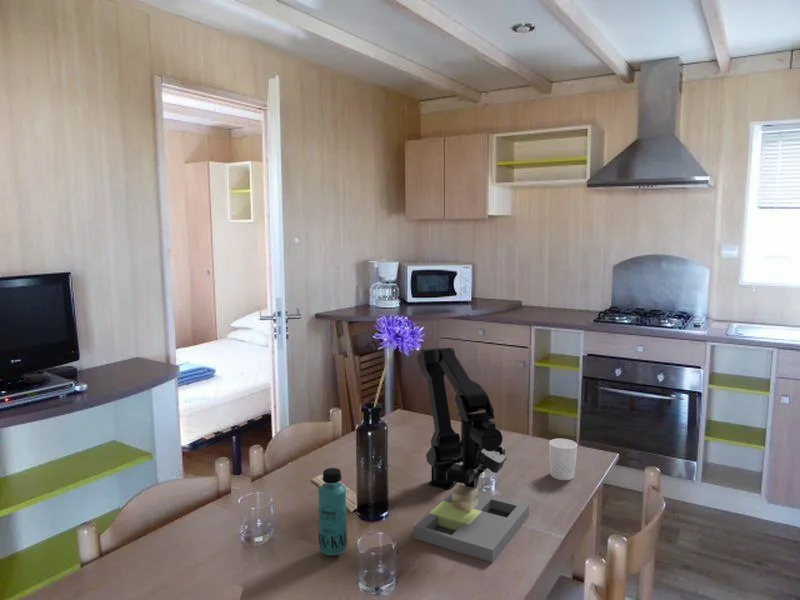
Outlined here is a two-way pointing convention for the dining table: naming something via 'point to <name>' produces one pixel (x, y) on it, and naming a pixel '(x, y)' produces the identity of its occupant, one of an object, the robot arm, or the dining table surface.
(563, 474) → the white cup
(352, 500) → the newspaper
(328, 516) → the beverage bottle
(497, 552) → the trap deck
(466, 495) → the maple block
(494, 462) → the robot arm
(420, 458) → the dining table surface
